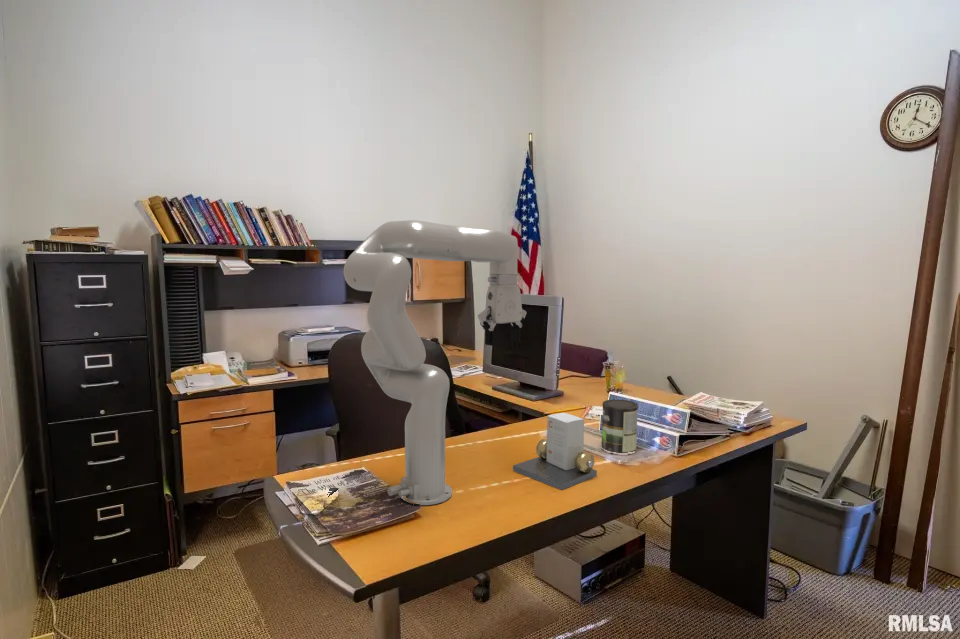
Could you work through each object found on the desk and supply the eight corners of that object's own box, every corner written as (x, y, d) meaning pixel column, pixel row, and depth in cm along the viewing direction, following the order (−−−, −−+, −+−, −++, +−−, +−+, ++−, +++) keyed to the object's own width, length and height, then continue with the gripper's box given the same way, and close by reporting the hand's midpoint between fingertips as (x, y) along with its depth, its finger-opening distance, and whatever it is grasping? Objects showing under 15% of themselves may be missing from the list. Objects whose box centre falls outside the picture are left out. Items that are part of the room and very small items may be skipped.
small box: (583, 466, 151) (584, 418, 150) (565, 471, 148) (566, 422, 146) (563, 457, 158) (564, 411, 157) (545, 462, 155) (546, 415, 153)
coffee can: (604, 455, 165) (605, 407, 163) (598, 443, 175) (599, 399, 173) (640, 456, 164) (642, 408, 163) (632, 444, 174) (633, 399, 173)
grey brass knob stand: (563, 490, 139) (563, 465, 138) (511, 470, 152) (511, 446, 152) (598, 476, 148) (599, 452, 148) (546, 458, 162) (547, 436, 161)
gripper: (489, 282, 146) (488, 348, 148) (535, 280, 157) (534, 342, 159) (470, 281, 151) (469, 344, 153) (516, 280, 163) (515, 339, 165)
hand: (502, 343), depth 156 cm, fingers open, 9 cm apart
